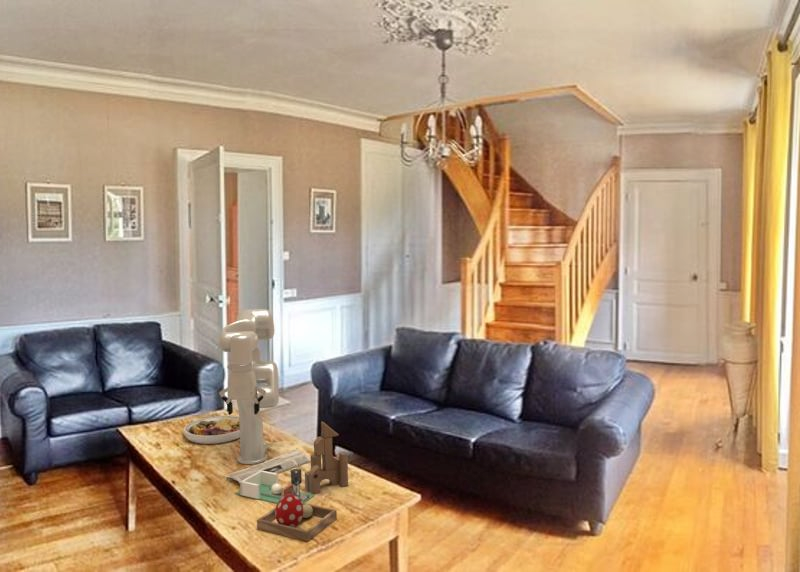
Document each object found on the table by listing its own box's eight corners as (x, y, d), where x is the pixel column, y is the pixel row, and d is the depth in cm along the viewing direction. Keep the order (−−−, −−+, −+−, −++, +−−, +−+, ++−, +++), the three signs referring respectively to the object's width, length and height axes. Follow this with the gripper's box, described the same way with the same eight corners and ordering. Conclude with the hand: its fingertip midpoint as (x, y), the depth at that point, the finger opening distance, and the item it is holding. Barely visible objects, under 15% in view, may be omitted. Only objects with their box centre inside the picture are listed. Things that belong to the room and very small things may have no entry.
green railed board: (254, 482, 243) (254, 481, 243) (314, 495, 231) (314, 494, 231) (235, 494, 233) (234, 492, 233) (297, 508, 221) (297, 507, 221)
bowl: (185, 429, 310) (184, 413, 309) (247, 422, 319) (246, 407, 318) (183, 449, 282) (182, 432, 281) (252, 442, 290) (251, 425, 290)
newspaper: (241, 488, 239) (240, 479, 239) (223, 480, 248) (223, 471, 248) (313, 462, 265) (313, 454, 265) (295, 455, 274) (294, 447, 273)
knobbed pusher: (290, 492, 232) (289, 466, 231) (309, 496, 229) (308, 469, 228) (281, 498, 227) (280, 471, 226) (300, 502, 224) (299, 475, 223)
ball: (275, 491, 234) (275, 480, 234) (284, 493, 233) (284, 482, 232) (269, 495, 231) (268, 485, 230) (277, 497, 229) (277, 486, 229)
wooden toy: (311, 495, 232) (309, 429, 229) (304, 488, 237) (302, 424, 235) (349, 485, 239) (348, 421, 237) (342, 479, 245) (340, 417, 243)
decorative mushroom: (312, 486, 218) (282, 486, 206) (328, 511, 212) (299, 513, 200) (293, 510, 220) (262, 511, 208) (309, 535, 213) (278, 538, 201)
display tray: (288, 507, 221) (288, 499, 221) (336, 518, 213) (336, 510, 212) (257, 528, 206) (256, 520, 206) (307, 541, 197) (307, 532, 197)
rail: (270, 488, 237) (270, 486, 236) (310, 497, 229) (310, 495, 228) (260, 495, 231) (260, 493, 231) (301, 504, 223) (301, 501, 223)
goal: (261, 482, 242) (260, 470, 242) (278, 486, 239) (277, 473, 238) (240, 494, 232) (239, 481, 231) (257, 498, 228) (257, 485, 228)
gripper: (215, 370, 229) (217, 416, 230) (262, 369, 228) (264, 416, 229) (221, 366, 236) (223, 411, 237) (267, 365, 236) (269, 410, 237)
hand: (243, 413), depth 233 cm, fingers open, 9 cm apart
